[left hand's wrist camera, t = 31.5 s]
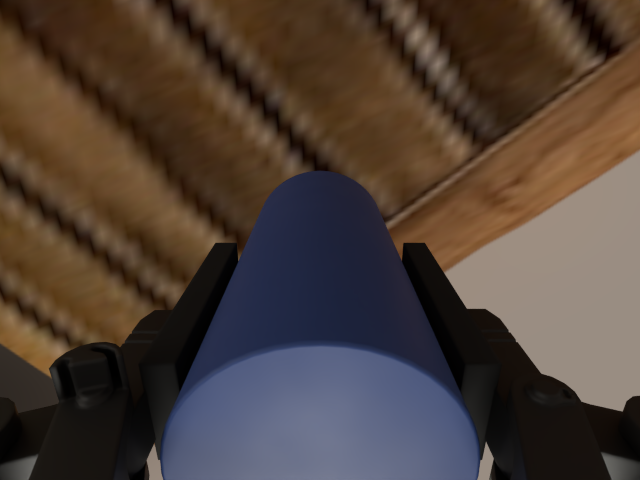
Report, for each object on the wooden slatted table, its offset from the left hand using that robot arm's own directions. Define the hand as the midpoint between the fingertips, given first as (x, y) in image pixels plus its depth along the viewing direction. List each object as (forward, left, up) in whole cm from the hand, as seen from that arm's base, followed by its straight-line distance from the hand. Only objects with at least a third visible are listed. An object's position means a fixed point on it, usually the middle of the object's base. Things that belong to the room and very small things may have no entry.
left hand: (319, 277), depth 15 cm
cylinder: (0, 0, -5) cm, 5 cm away
